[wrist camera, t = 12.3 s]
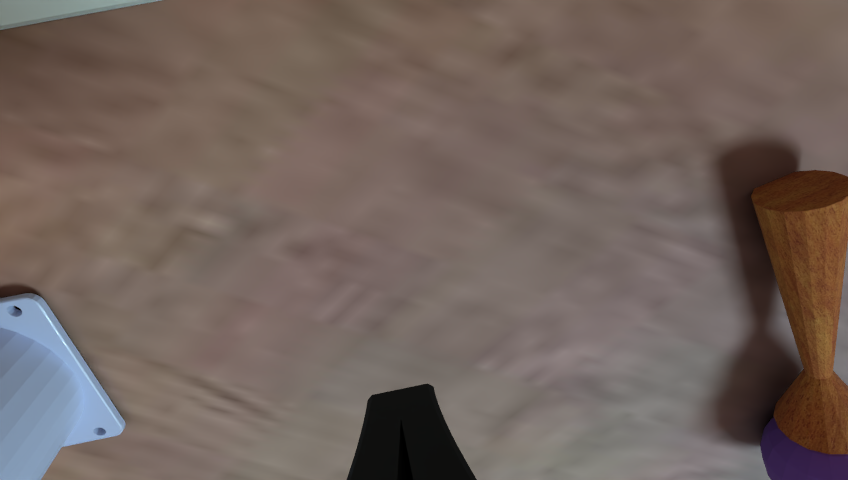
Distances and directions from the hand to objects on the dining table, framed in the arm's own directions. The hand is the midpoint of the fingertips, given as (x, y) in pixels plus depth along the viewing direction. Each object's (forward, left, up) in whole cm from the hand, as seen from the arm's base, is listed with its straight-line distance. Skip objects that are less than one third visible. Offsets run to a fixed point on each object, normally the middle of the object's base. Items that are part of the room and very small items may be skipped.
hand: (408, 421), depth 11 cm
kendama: (+19, -11, -11) cm, 25 cm away
